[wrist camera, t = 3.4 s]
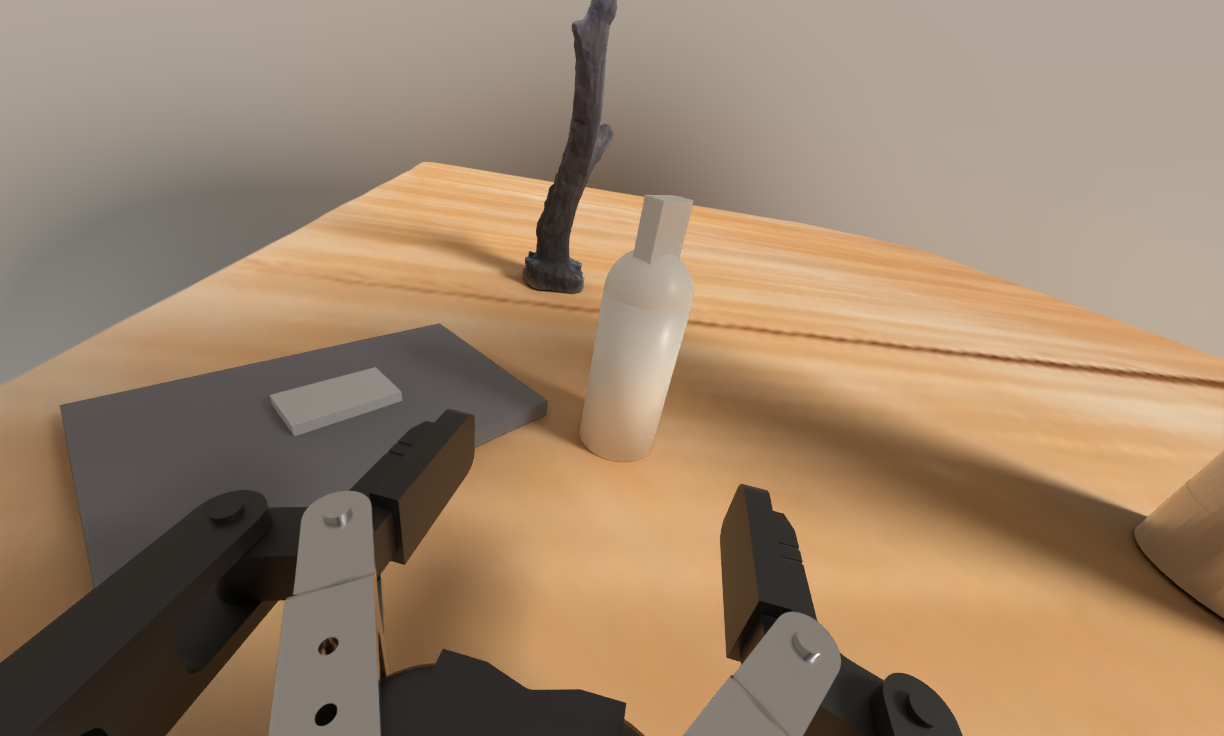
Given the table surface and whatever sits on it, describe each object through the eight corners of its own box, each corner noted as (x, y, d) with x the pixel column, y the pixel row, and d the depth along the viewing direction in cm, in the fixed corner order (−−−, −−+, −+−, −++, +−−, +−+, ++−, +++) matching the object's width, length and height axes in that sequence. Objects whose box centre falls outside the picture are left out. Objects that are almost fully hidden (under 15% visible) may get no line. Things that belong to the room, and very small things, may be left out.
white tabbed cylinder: (612, 405, 28) (658, 187, 22) (666, 440, 26) (736, 209, 19) (564, 431, 25) (600, 185, 19) (620, 473, 23) (685, 211, 16)
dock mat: (439, 335, 32) (439, 315, 32) (546, 414, 26) (548, 392, 25) (70, 423, 20) (53, 394, 19) (108, 616, 13) (87, 585, 13)
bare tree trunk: (522, 265, 50) (541, -14, 37) (589, 273, 52) (628, 9, 39) (522, 305, 40) (550, -55, 28) (605, 312, 42) (664, -22, 30)
